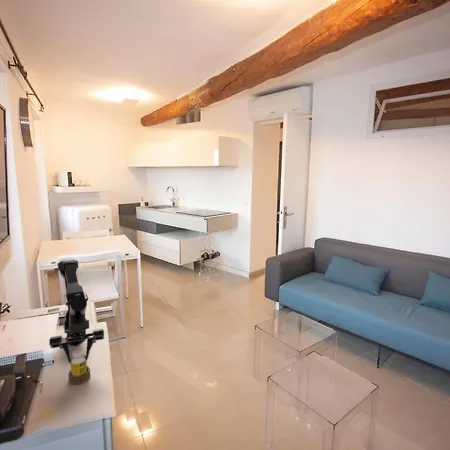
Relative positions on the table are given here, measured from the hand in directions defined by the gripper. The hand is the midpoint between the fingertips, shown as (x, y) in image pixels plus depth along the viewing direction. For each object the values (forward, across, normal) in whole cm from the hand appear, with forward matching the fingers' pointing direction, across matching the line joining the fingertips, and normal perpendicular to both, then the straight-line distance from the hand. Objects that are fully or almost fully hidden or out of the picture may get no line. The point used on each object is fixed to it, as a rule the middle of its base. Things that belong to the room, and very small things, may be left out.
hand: (78, 361), depth 117 cm
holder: (+5, 0, +6) cm, 8 cm away
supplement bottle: (+4, 0, +6) cm, 7 cm away
